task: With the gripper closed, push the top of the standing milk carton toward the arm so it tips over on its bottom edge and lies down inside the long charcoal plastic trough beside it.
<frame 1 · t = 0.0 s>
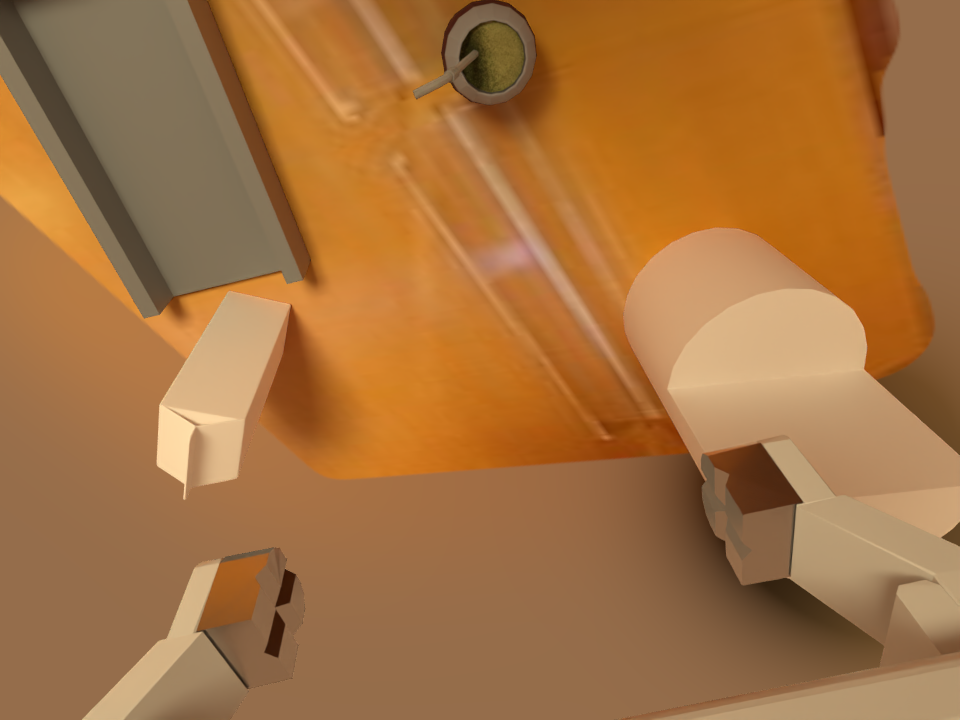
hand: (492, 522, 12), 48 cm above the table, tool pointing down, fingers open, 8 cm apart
milk: (257, 321, 62), on the table
mate gourd: (477, 49, 51), on the table
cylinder: (703, 305, 65), on the table
trough: (170, 142, 53), on the table
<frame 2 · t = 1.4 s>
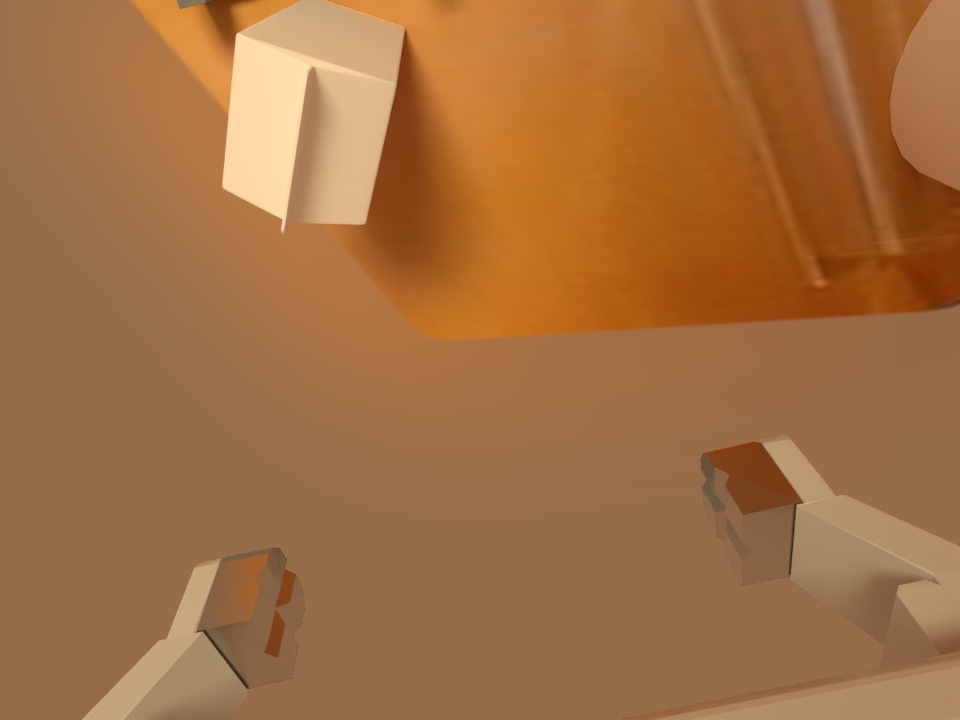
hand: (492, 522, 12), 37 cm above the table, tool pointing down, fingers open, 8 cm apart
milk: (350, 60, 40), on the table
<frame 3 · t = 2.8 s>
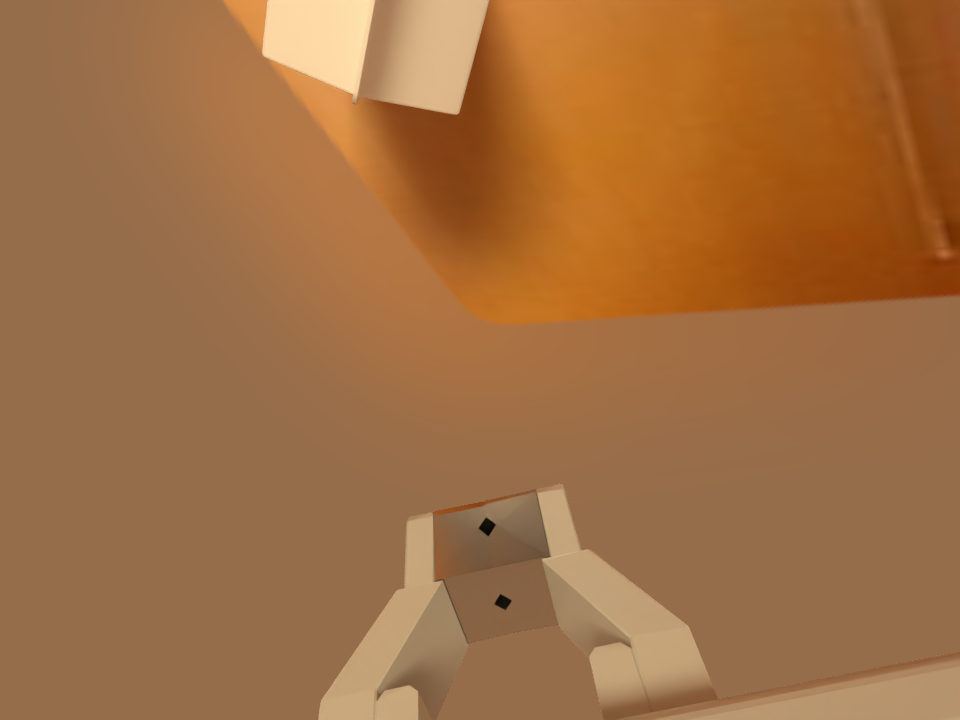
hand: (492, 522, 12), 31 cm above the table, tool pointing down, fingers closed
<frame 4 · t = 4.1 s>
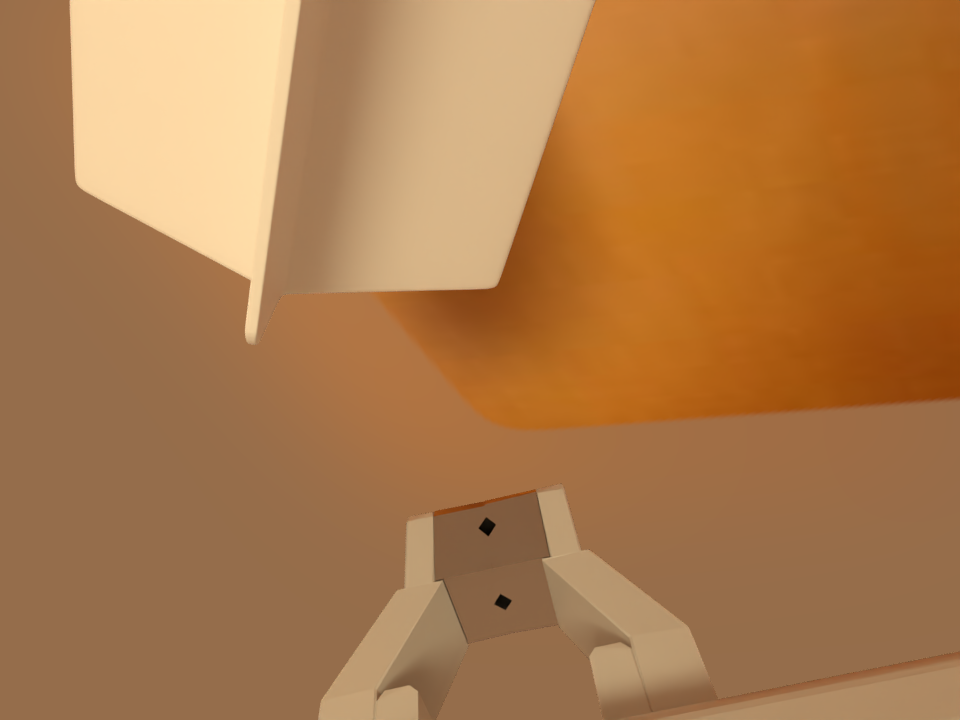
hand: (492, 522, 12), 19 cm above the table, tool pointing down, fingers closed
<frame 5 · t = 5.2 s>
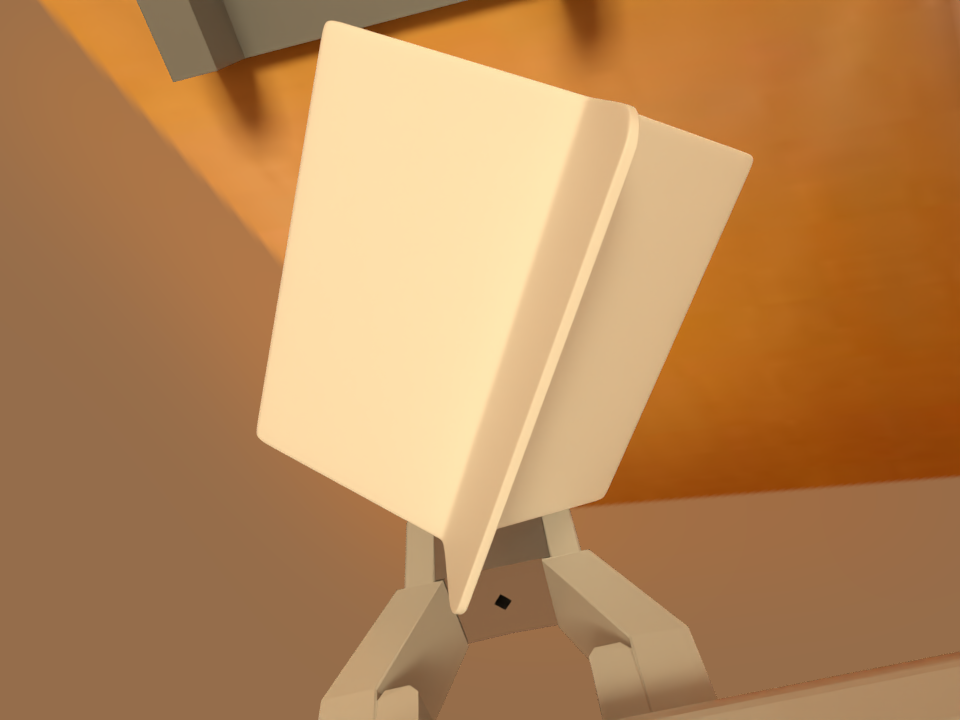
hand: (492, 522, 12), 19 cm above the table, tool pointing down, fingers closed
milk: (434, 149, 26), on the table, touching gripper
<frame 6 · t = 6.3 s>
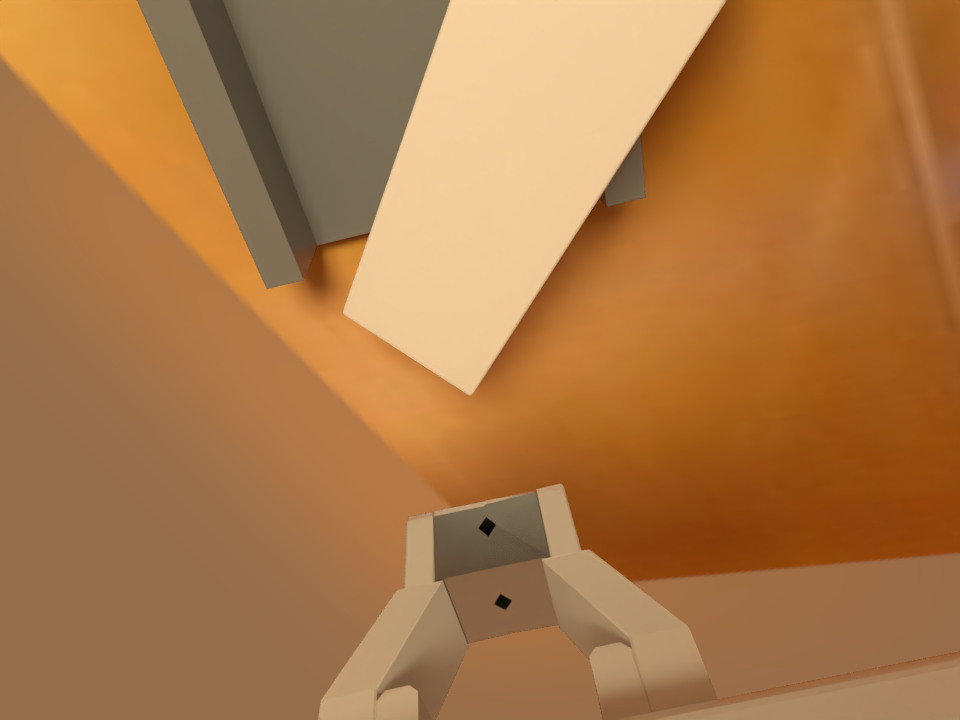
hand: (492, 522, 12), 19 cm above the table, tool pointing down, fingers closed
milk: (437, 319, 26), point 4 cm above the table, touching trough
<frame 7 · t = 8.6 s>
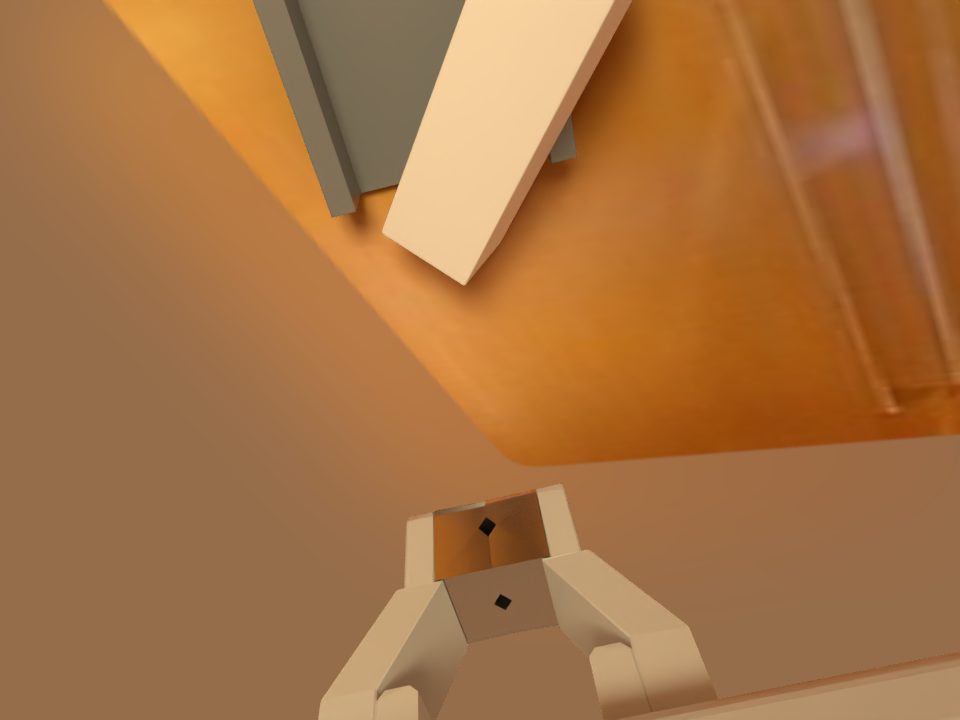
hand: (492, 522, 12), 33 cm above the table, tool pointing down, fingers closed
milk: (442, 241, 39), point 4 cm above the table, touching trough
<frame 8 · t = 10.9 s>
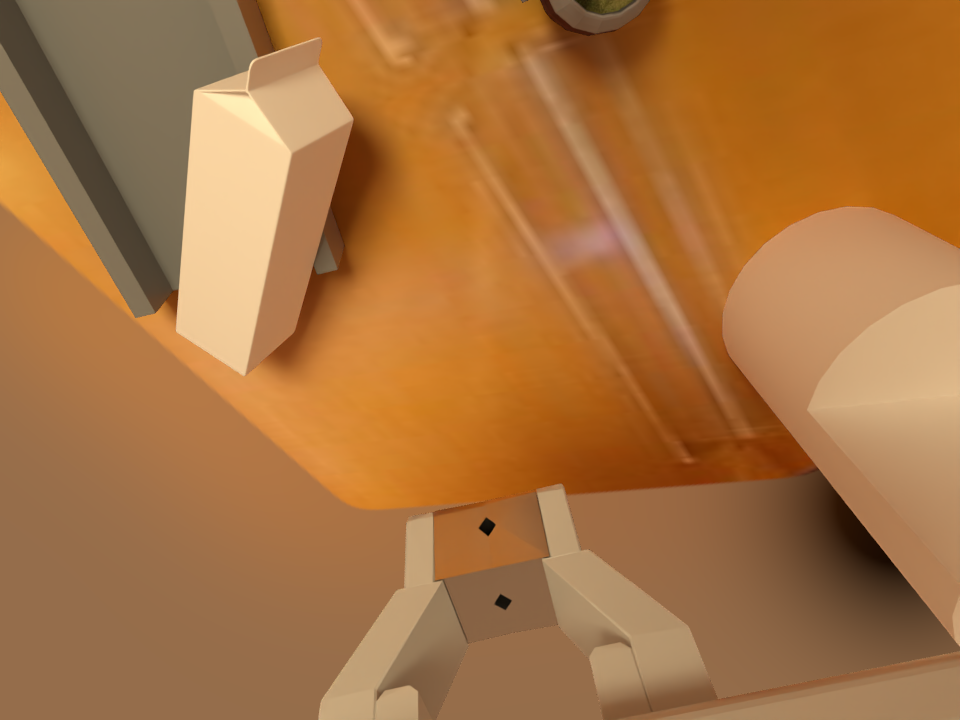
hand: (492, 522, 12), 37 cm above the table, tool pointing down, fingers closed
milk: (237, 334, 46), point 4 cm above the table, touching trough
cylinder: (820, 303, 54), on the table
trough: (169, 90, 41), on the table
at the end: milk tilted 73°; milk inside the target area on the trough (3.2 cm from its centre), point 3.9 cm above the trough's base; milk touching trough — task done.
